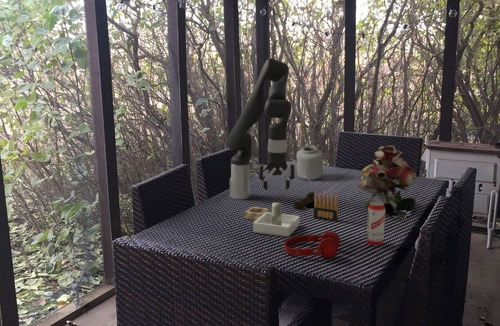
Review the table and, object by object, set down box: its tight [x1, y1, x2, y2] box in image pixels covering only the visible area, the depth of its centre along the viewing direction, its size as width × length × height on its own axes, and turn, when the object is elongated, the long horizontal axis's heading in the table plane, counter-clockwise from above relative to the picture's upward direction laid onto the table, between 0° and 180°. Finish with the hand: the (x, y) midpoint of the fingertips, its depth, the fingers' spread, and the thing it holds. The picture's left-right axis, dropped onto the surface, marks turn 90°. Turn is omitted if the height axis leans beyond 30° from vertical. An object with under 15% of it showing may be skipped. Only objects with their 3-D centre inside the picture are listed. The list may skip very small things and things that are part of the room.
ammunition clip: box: [313, 191, 339, 223], centre depth 215 cm, size 11×2×12 cm, turn 63°
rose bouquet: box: [357, 145, 417, 220], centre depth 228 cm, size 26×29×30 cm
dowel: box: [271, 202, 283, 226], centre depth 204 cm, size 4×4×10 cm
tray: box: [252, 211, 301, 238], centre depth 204 cm, size 15×15×4 cm
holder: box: [243, 206, 270, 221], centre depth 219 cm, size 8×8×3 cm
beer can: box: [365, 201, 386, 247], centre depth 187 cm, size 6×6×16 cm
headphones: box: [283, 230, 341, 259], centre depth 181 cm, size 15×7×20 cm
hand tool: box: [293, 191, 315, 211], centre depth 237 cm, size 19×4×5 cm, turn 147°
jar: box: [296, 137, 324, 181], centre depth 284 cm, size 19×15×25 cm
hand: (276, 189), depth 201 cm, fingers open, 8 cm apart
